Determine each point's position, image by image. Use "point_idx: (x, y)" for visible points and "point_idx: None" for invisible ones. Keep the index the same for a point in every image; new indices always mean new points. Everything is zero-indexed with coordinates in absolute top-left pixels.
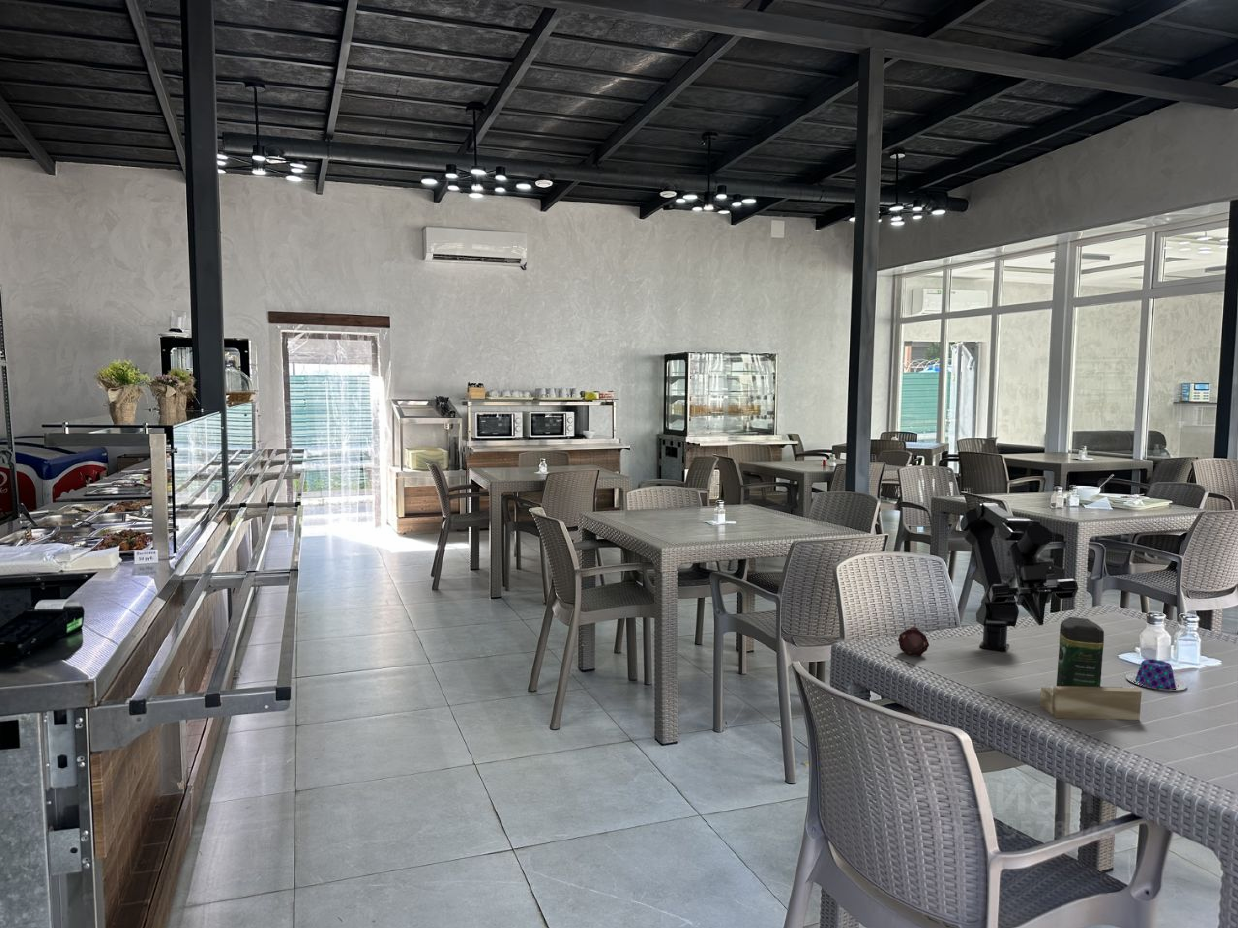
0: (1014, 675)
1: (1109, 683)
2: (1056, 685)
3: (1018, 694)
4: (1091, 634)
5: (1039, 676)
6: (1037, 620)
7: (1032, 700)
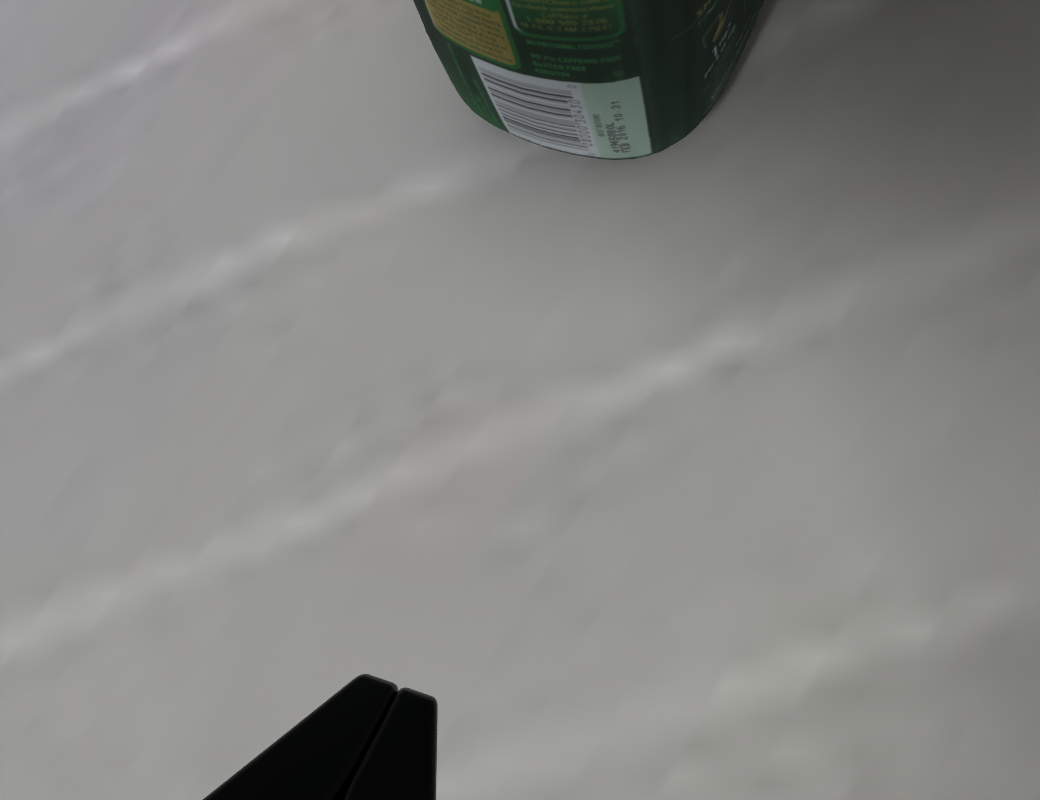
0: (768, 743)
1: (41, 486)
2: (720, 46)
3: (1023, 199)
4: None
5: (521, 695)
6: (432, 781)
7: (963, 57)
